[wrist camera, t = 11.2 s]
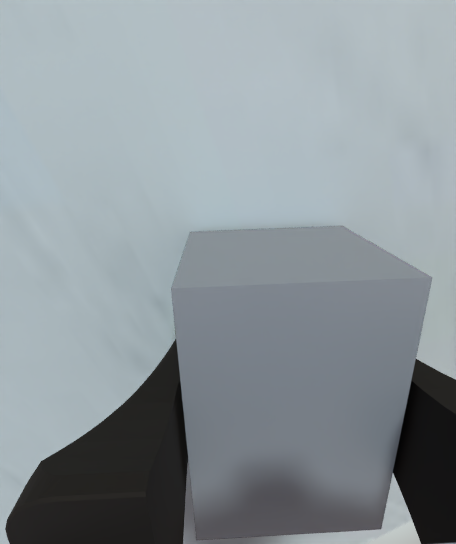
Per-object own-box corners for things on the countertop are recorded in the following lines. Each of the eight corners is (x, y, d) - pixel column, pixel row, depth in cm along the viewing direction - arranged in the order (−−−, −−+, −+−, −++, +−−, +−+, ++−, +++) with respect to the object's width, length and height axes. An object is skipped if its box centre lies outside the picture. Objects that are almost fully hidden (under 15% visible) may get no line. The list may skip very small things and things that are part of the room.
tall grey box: (325, 403, 16) (380, 529, 10) (203, 410, 16) (196, 540, 10) (342, 226, 13) (432, 277, 7) (190, 231, 13) (171, 288, 7)
